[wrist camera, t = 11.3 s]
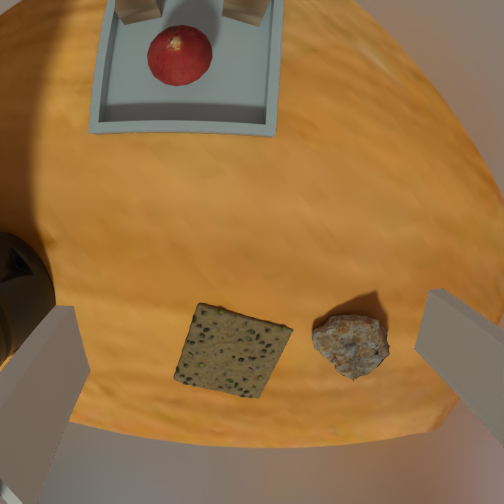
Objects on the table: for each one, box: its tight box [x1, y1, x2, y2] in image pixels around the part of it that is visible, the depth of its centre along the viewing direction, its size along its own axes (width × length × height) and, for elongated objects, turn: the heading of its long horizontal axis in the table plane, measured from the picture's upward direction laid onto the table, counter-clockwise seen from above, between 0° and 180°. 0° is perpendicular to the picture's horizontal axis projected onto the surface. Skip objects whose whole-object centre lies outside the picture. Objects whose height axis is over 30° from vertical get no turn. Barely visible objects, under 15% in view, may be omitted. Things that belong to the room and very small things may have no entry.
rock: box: [312, 314, 390, 381], centre depth 37 cm, size 9×6×10 cm
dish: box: [89, 0, 284, 138], centre depth 26 cm, size 18×18×2 cm
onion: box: [147, 25, 213, 86], centre depth 24 cm, size 6×6×8 cm
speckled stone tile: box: [174, 303, 293, 398], centre depth 38 cm, size 12×12×1 cm
